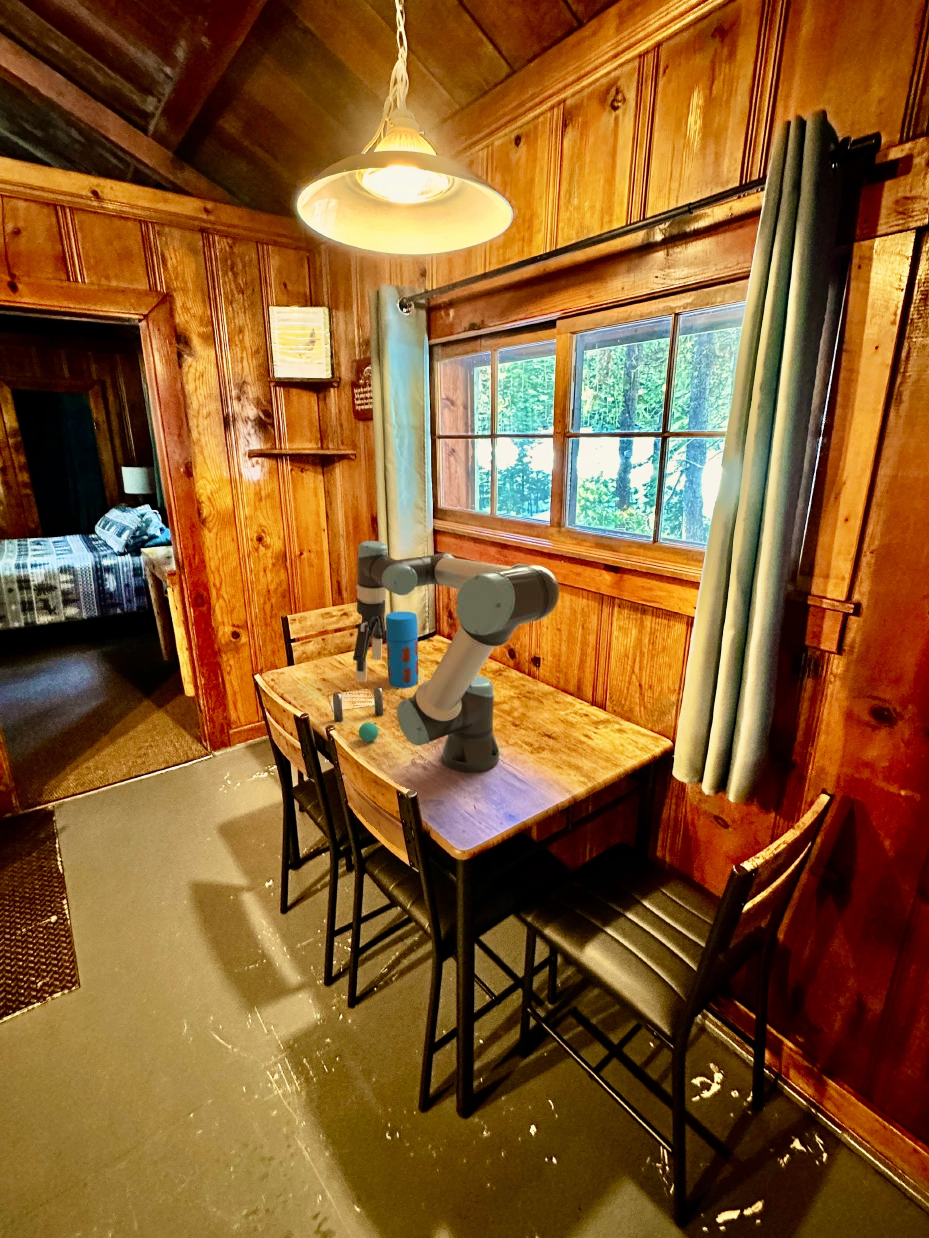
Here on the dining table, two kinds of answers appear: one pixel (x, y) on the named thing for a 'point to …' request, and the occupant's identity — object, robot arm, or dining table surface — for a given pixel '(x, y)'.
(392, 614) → the thermos
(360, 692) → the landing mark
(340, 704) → the post left
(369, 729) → the ball
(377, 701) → the post right
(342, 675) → the dining table surface
